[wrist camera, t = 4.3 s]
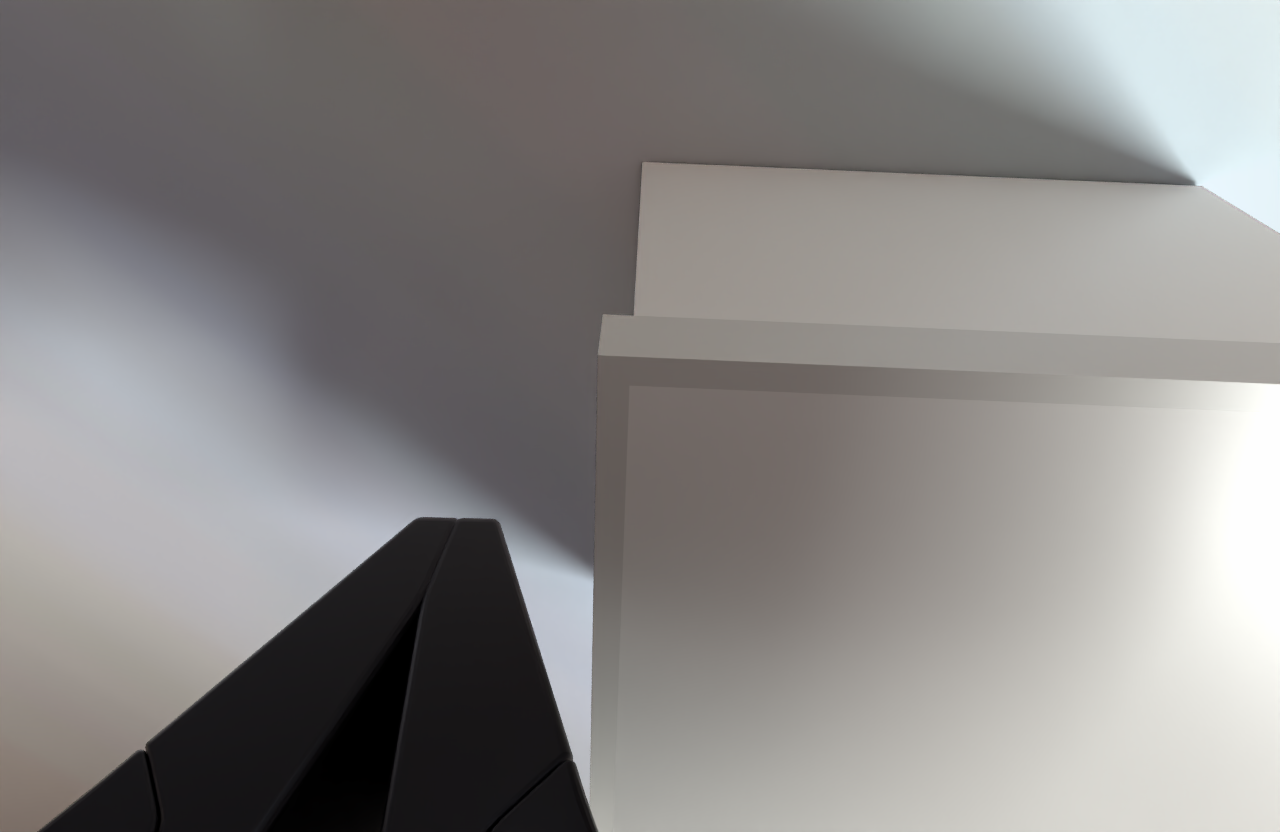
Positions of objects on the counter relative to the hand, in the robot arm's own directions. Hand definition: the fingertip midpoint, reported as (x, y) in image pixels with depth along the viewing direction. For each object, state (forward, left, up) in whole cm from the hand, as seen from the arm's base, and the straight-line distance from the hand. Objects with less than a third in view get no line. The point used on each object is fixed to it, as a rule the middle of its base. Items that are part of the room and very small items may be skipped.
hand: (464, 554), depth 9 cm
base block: (0, -5, -3) cm, 5 cm away
